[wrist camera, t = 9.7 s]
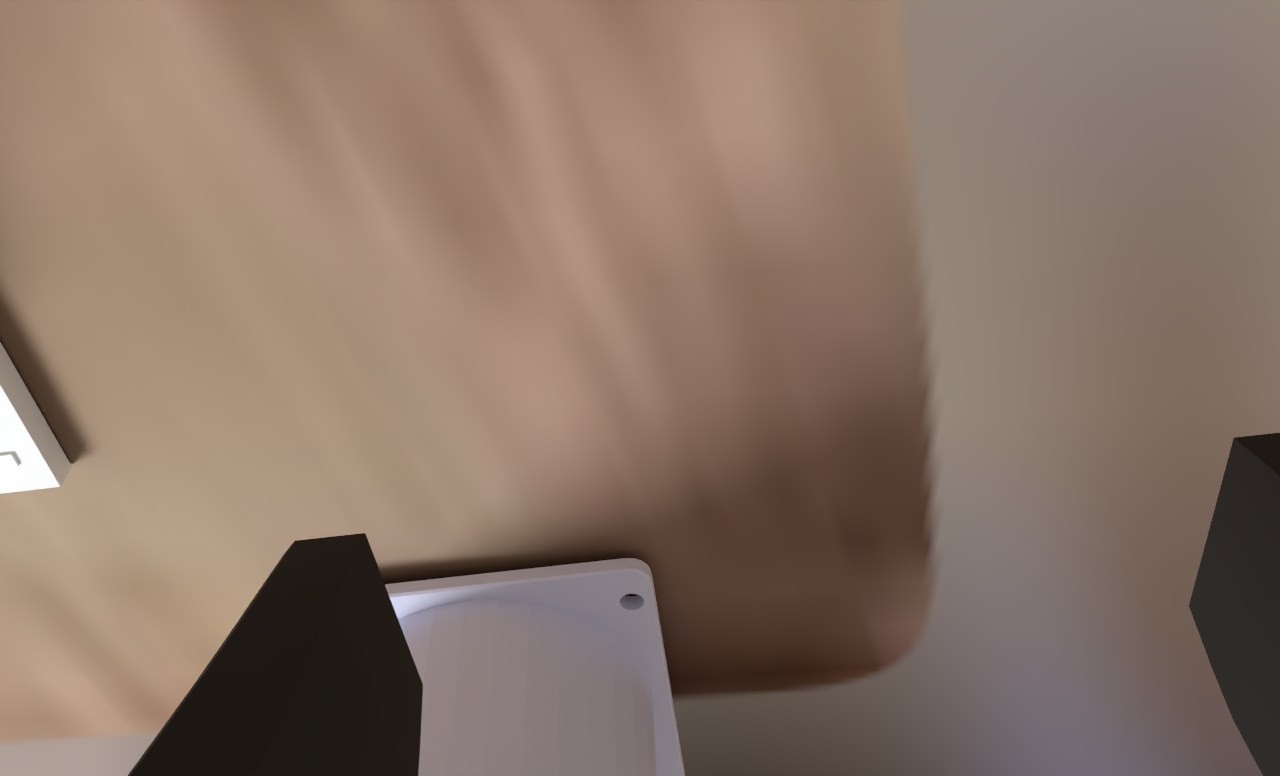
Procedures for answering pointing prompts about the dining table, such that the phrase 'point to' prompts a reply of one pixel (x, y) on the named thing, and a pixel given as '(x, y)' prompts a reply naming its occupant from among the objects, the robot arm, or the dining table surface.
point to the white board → (25, 438)
